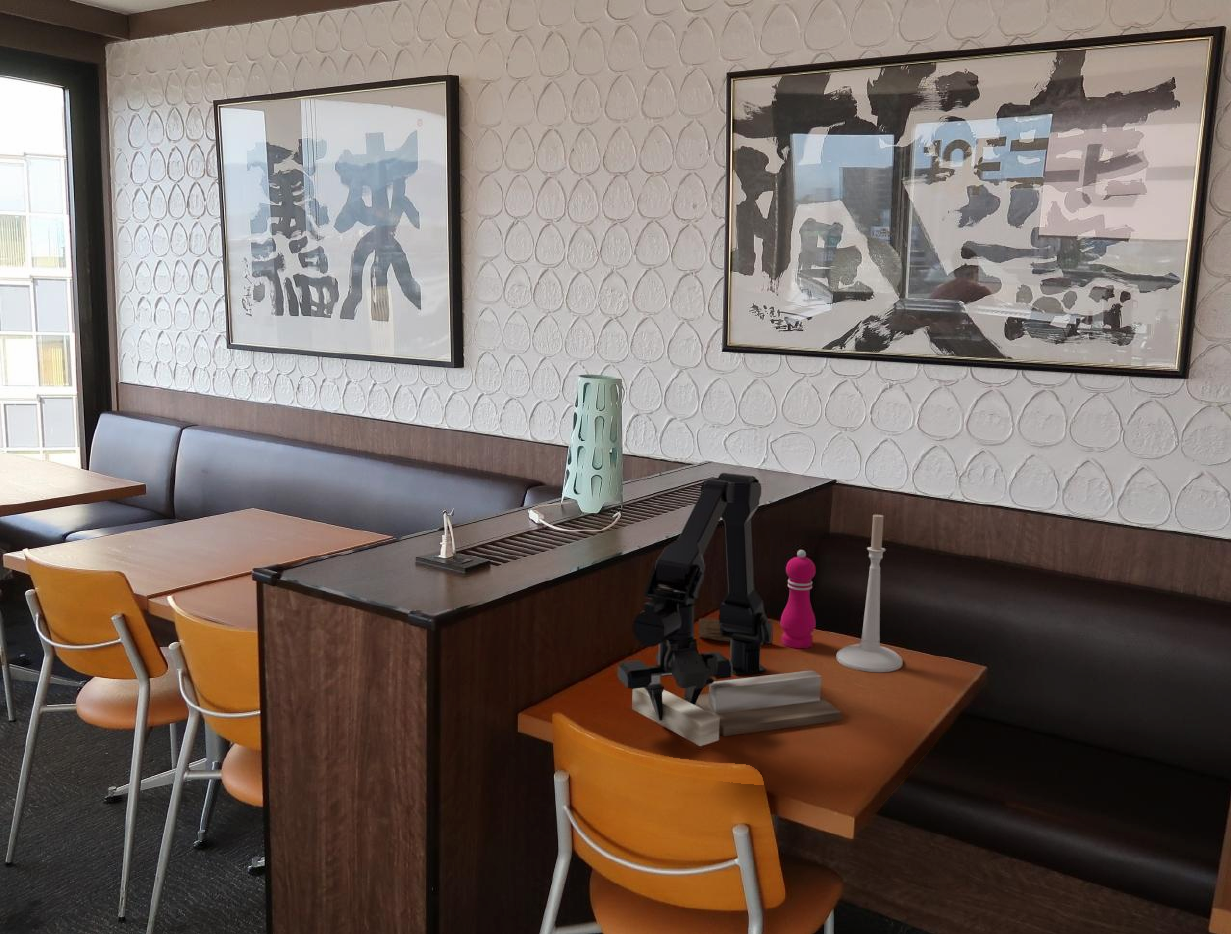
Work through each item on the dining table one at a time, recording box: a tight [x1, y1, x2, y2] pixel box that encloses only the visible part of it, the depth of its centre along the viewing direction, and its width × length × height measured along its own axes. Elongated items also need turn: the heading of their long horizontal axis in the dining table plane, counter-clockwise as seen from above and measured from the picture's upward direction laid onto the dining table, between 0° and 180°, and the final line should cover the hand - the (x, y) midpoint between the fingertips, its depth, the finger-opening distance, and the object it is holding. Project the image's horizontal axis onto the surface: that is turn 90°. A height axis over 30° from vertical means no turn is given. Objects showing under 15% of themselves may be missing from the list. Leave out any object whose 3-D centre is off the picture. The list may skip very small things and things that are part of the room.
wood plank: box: [698, 617, 774, 643], centre depth 217 cm, size 15×2×5 cm, turn 84°
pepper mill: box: [779, 549, 817, 649], centre depth 215 cm, size 7×7×20 cm
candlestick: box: [835, 513, 904, 673], centre depth 205 cm, size 13×13×30 cm
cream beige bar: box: [631, 688, 720, 747], centre depth 175 cm, size 18×4×4 cm, turn 37°
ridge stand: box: [695, 669, 842, 737], centre depth 180 cm, size 14×22×6 cm, turn 109°
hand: (673, 718), depth 175 cm, fingers open, 5 cm apart
